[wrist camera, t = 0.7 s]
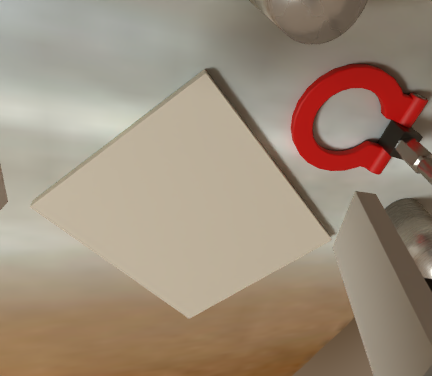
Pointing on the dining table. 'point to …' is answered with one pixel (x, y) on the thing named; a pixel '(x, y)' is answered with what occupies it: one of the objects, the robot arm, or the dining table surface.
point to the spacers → (326, 31)
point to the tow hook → (367, 151)
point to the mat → (186, 202)
